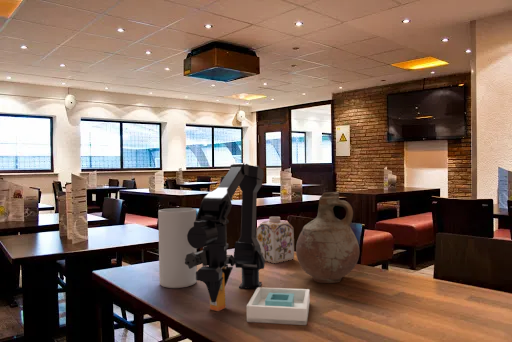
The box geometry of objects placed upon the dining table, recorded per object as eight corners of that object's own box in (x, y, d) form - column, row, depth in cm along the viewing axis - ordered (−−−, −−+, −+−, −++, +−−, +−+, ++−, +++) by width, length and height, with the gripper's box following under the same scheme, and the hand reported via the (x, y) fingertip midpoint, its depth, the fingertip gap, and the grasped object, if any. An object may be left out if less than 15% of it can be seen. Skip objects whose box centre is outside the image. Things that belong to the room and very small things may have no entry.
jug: (303, 269, 151) (302, 190, 151) (362, 273, 144) (361, 190, 144) (289, 285, 131) (288, 194, 131) (356, 291, 124) (355, 195, 123)
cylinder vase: (170, 291, 127) (169, 212, 127) (153, 283, 136) (152, 210, 136) (203, 283, 135) (202, 209, 135) (185, 276, 144) (184, 207, 144)
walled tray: (257, 300, 116) (257, 287, 116) (309, 303, 114) (309, 289, 114) (246, 321, 101) (246, 306, 101) (306, 325, 98) (306, 308, 98)
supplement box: (217, 305, 113) (216, 270, 113) (226, 308, 111) (225, 272, 110) (208, 309, 110) (208, 273, 110) (217, 311, 108) (216, 275, 108)
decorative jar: (276, 255, 177) (275, 214, 177) (295, 259, 168) (294, 217, 168) (255, 259, 170) (255, 217, 169) (274, 264, 161) (273, 219, 160)
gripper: (199, 235, 121) (200, 286, 121) (176, 247, 103) (177, 308, 103) (234, 236, 119) (235, 288, 119) (217, 248, 100) (218, 310, 101)
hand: (217, 297), depth 110 cm, fingers open, 7 cm apart
